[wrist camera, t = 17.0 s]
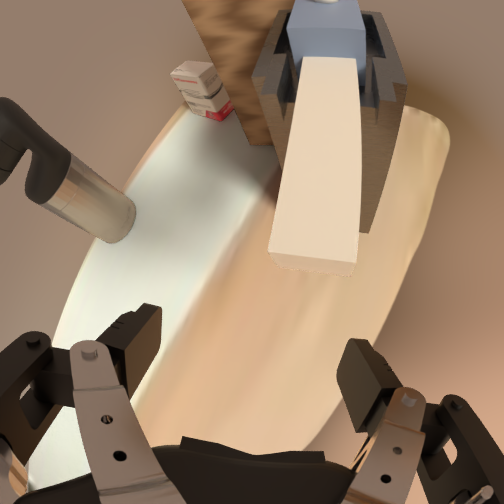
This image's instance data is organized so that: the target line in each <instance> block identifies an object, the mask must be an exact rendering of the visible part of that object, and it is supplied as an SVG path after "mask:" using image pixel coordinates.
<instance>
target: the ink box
mask: <svg viewBox="0 0 504 504" xmlns="http://www.w3.org/2000/svg"><path fill="white" fill-rule="evenodd" d="M170 76H171V77H172V79H173V81H174V82H175V84H176V85H177V87H178V89H179V90H180V92H181V93H182V95H183V96H184V98H185V100H186V102H187V103H188V105H189V107H190V108H191V110H192V111H193V113H194V114H198V115H201V116H205V117H208V118H212V119H215V120H218V121H223V120H224V119H225V117H226V116H227V115H228V114H229V113H230V112H231V111H232V110H233V109H234V107H233V105H232V103H231V101H230V98H229V96H228V94H227V92H226V90H225V87H224V85H223V83H222V81H221V79H220V77H219V75H218V73H217V70H216V68H215V66H214V64H213V63H210V62H199V61H185V62H184V63H183V64H182V65H180V66H179V67H177V68H176V69H175V70H174V71H172V72H171V74H170Z"/></svg>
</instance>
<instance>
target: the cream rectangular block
mask: <svg viewBox="0 0 504 504" xmlns="http://www.w3.org/2000/svg"><path fill="white" fill-rule="evenodd" d="M286 29H287V33H288V37H289V41H290V45H291V50H292V54H293V59H294V63H295V68H296V73H297V78H298V83H299V85H298V90H297V96H296V102H295V108H294V113H293V119H292V125H291V130H290V136H289V141H288V147H287V152H286V158H285V163H284V168H283V174H282V179H281V184H280V190H279V195H278V200H277V205H276V211H275V216H274V221H273V226H272V231H271V236H270V241H269V246H268V251H267V252H268V253H269V255H270V256H271V258H272V259H273V261H274V262H275V264H276V265H277V267H279V268H286V269H293V270H301V271H308V272H316V273H323V274H331V275H339V276H346V277H351V275H352V273H353V270H354V267H355V265H356V260H357V249H358V238H359V224H360V207H361V176H362V145H361V115H360V98H359V86H365V82H366V30H365V26H364V23H363V19H362V16H361V12H360V9H359V6H358V3H357V0H295V3H294V6H293V9H292V12H291V15H290V19H289V22H288V25H287V28H286Z"/></svg>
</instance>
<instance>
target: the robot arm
mask: <svg viewBox="0 0 504 504" xmlns="http://www.w3.org/2000/svg"><path fill="white" fill-rule="evenodd" d="M27 149H30V150H31V151H32V161H31V165H30V168H29V171H28V174H27V178H26V182H25V193H26V196H27V197H28V198H29V199H30V200H32V201H33V202H35V203H37V204H38V205H40V206H42V207H44V208H45V209H47V210H49V211H50V212H52V213H54V214H56V215H58V216H59V217H61V218H63V219H65V220H66V221H68V222H70V223H72V224H74V225H75V226H77V227H79V228H81V229H83V230H84V231H86V232H88V233H90V234H92V235H94V236H95V237H97V238H99V239H101V240H103V241H105V242H107V243H116V242H118V241H120V240H122V239H123V238H124V237H125V236H126V235H127V234H128V232H129V231H130V229H131V228H132V225H133V223H134V220H135V215H136V209H135V205H134V203H133V202H132V201H131V200H130V199H128V198H127V197H126V196H125V195H123V194H122V193H121V192H120V191H118V190H117V189H115V188H114V187H113V186H112V185H111V184H109V183H108V182H107V181H106V180H104V179H103V178H102V177H101V176H99V175H98V174H97V173H96V172H94V171H93V170H92V169H91V168H89V167H88V166H87V165H86V164H84V163H83V162H82V161H80V160H79V159H78V158H77V157H76V156H74V155H73V154H72V153H71V152H69V151H68V150H67V149H66V148H64V147H63V146H62V145H60V144H59V143H58V142H57V141H56V140H55V139H53V138H52V137H51V136H50V135H49V134H48V133H46V132H45V131H44V130H43V129H42V128H41V127H40V126H39V125H38V124H37V123H36V122H35V121H34V120H33V119H32V118H31V117H30V116H29V115H28V114H27V113H26V112H25V111H24V110H23V109H22V108H21V107H20V106H19V105H17V104H16V103H15V102H13V101H12V100H10V99H9V98H5V97H0V185H1V184H3V183H4V182H5V181H6V180H7V178H8V177H9V176H10V174H11V173H12V171H13V169H14V168H15V167H16V165H17V163H18V162H19V160H20V159H21V157H22V156H23V155H24V153H25V151H26V150H27ZM161 327H162V308H161V307H159V306H155V305H151V304H147V303H143V304H142V305H141V306H140V308H139V309H138V310H137V311H136V312H133V311H130V312H127V313H125V314H122V315H121V316H120V317H119V318H118V319H116V320H115V322H113V323H112V324H111V325H110V327H108V328H107V329H106V330H105V331H104V332H103V333H102V334H101V335H100V336H99V337H98V338H97V339H96V340H95V341H92V340H85V341H80V342H78V343H76V344H74V345H73V346H72V347H71V349H70V350H66V349H60V348H54V347H52V344H51V340H50V338H49V336H48V335H46V334H45V333H42V332H38V331H31V332H27V333H24V334H22V335H21V336H20V337H18V338H17V339H16V340H15V341H13V342H12V343H11V344H10V345H9V346H7V347H6V348H5V349H4V350H3V351H2V352H1V353H0V504H405V501H406V498H407V496H408V493H409V490H410V487H411V485H412V482H413V479H414V475H415V473H416V470H417V473H418V476H419V478H420V481H421V483H422V486H423V489H424V492H425V495H426V497H427V500H428V503H429V504H504V455H503V453H502V452H501V450H500V449H499V447H498V446H497V444H496V443H495V441H494V440H493V438H492V437H491V435H490V434H489V432H488V431H487V429H486V428H485V426H484V425H483V424H482V422H481V421H480V419H479V418H478V417H477V415H476V414H475V413H474V411H473V410H472V408H471V407H470V406H469V404H468V403H467V402H466V401H465V400H464V399H463V398H461V397H459V396H457V395H452V394H450V395H446V396H444V398H443V399H442V401H441V403H440V404H439V405H438V404H431V403H426V400H425V397H424V396H423V395H422V394H421V393H420V392H418V391H417V390H415V389H413V388H409V387H403V385H402V384H401V382H400V381H399V379H398V378H397V376H396V375H395V373H394V372H393V371H392V369H391V367H390V366H389V365H388V363H387V361H386V360H385V358H384V357H383V356H382V355H380V354H379V353H378V352H376V351H374V349H373V348H372V346H371V345H370V343H369V342H368V340H366V339H355V338H351V339H349V341H348V342H347V345H346V347H345V350H344V353H343V355H342V358H341V361H340V363H339V366H338V369H337V375H336V377H337V382H338V385H339V387H340V390H341V393H342V396H343V398H344V401H345V403H346V407H347V409H348V412H349V415H350V418H351V420H352V423H353V426H354V428H355V432H356V433H361V432H367V433H368V436H367V437H366V439H365V440H364V442H363V444H362V446H361V447H360V449H359V451H358V453H357V455H356V456H355V458H354V459H353V461H352V463H351V464H350V466H349V468H347V467H344V466H342V465H339V464H337V463H333V462H330V461H325V456H324V451H287V452H280V453H273V454H264V455H252V454H248V453H245V452H242V451H239V450H236V449H233V448H230V447H227V446H224V445H222V444H219V443H214V442H208V441H203V440H198V439H193V438H189V437H185V436H182V440H181V443H180V445H164V446H157V447H152V448H151V447H150V445H149V443H148V441H147V439H146V437H145V435H144V433H143V431H142V429H141V426H140V424H139V422H138V420H137V417H136V415H135V413H134V410H133V408H132V406H131V403H130V399H131V398H132V396H133V394H134V392H135V391H136V389H137V387H138V385H139V384H140V382H141V380H142V378H143V377H144V375H145V373H146V372H147V370H148V368H149V366H150V365H151V363H152V361H153V360H154V358H155V356H156V355H157V353H158V351H159V348H160V343H161ZM29 384H30V387H31V388H30V389H29V390H28V391H27V392H26V394H25V395H24V396H23V397H22V398H21V399H20V395H21V393H22V391H23V390H24V389H25V388H26V387H27V386H28V385H29ZM63 406H68V407H73V408H75V409H76V414H77V419H78V424H79V428H80V433H81V437H82V441H83V445H84V449H85V452H86V456H87V459H88V463H89V466H90V469H91V473H88V474H86V475H83V476H80V477H77V478H75V479H72V480H69V481H66V482H63V483H59V484H56V485H53V486H49V487H46V488H42V489H39V490H35V491H31V492H28V493H26V494H25V492H26V491H27V486H26V485H27V480H28V477H27V472H26V470H25V468H24V466H25V465H26V463H27V461H28V460H29V458H30V456H31V455H32V453H33V452H34V450H35V448H36V447H37V445H38V444H39V442H40V440H41V439H42V437H43V436H44V434H45V433H46V431H47V430H48V428H49V427H50V425H51V424H52V422H53V421H54V419H55V418H56V416H57V415H58V413H59V412H60V410H61V409H62V407H63ZM450 438H451V440H452V442H453V443H454V445H455V447H456V449H457V458H456V460H455V461H454V463H453V464H452V465H451V463H450V461H449V459H448V457H447V455H446V453H445V451H444V449H443V447H444V445H445V444H446V443H447V442H448V440H449V439H450Z"/></svg>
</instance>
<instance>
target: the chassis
mask: <svg viewBox="0 0 504 504" xmlns="http://www.w3.org/2000/svg"><path fill="white" fill-rule="evenodd" d="M291 12H292V9H287V10H279V11H278V13H277V15H276V18H275V20H274V22H273V24H272V27H271V29H270V32H269V34H268V36H267V39H266V41H265V44H264V46H263V48H262V51H261V53H260V56H259V58H258V61H257V64H256V66H255V69H254V71H253V74H252V76H251V78H252V81H253V84H254V87H255V90H256V93H257V95H258V98H259V101H260V104H261V107H262V110H263V113H264V116H265V119H266V122H267V125H268V128H269V131H270V134H271V137H272V140H273V144H274V147H275V150H276V153H277V156H278V160H279V163H280V166H281V169H282V173H283V168H284V163H285V158H286V152H287V147H288V141H289V136H290V130H291V125H292V119H293V113H294V108H295V102H296V96H297V90H298V85H299V83H298V78H297V73H296V68H295V63H294V59H293V54H292V50H291V45H290V41H289V37H288V33H287V29H286V28H287V25H288V22H289V19H290V15H291ZM360 12H361V16H362V19H363V23H364V26H365V30H366V82H365V86H359V98H360V115H361V145H362V176H361V207H360V224H359V232H362V233H369V231H370V228H371V225H372V222H373V219H374V216H375V213H376V210H377V207H378V204H379V201H380V197H381V194H382V191H383V188H384V184H385V181H386V177H387V174H388V170H389V167H390V163H391V159H392V155H393V151H394V147H395V143H396V139H397V135H398V131H399V126H400V122H401V117H402V112H403V107H404V102H405V97H406V91H407V85H408V84H407V81H406V78H405V75H404V72H403V68H402V65H401V62H400V59H399V56H398V53H397V51H396V48H395V45H394V43H393V40H392V37H391V35H390V32H389V30H388V28H387V25H386V23H385V21H384V18H383V17H382V14H381V13H379V12H371V11H360Z"/></svg>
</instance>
